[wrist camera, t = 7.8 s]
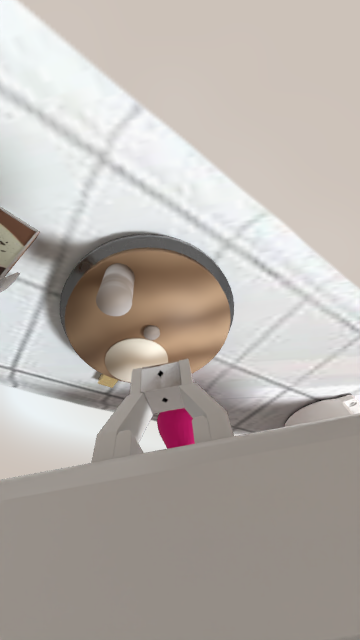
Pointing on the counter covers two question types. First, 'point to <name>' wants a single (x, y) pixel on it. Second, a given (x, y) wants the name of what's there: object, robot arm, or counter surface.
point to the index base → (141, 242)
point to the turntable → (146, 312)
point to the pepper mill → (176, 428)
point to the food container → (12, 244)
